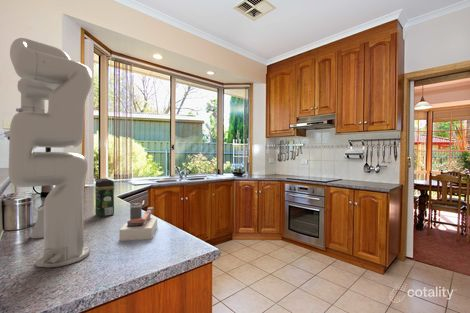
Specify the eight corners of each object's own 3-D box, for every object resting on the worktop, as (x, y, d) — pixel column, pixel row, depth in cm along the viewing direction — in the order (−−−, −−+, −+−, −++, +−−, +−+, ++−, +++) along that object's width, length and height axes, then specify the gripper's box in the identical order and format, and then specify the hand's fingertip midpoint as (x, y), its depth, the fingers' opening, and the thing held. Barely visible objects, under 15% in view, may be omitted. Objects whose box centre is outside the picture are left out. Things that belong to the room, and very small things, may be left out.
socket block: (151, 238, 84) (151, 223, 84) (119, 240, 82) (119, 225, 81) (157, 226, 97) (157, 213, 97) (129, 228, 95) (129, 214, 95)
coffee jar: (93, 214, 117) (93, 178, 117) (110, 211, 122) (110, 177, 122) (98, 218, 110) (98, 179, 109) (115, 215, 115) (116, 178, 115)
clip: (140, 211, 101) (140, 207, 101) (153, 210, 102) (153, 207, 102) (130, 223, 84) (130, 218, 84) (146, 222, 85) (146, 218, 85)
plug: (142, 237, 85) (142, 205, 85) (125, 238, 84) (125, 205, 84) (145, 231, 91) (145, 202, 91) (129, 232, 90) (129, 202, 90)
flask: (40, 240, 82) (40, 212, 82) (24, 238, 83) (24, 211, 83) (59, 233, 89) (59, 207, 89) (44, 231, 90) (44, 206, 90)
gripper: (5, 108, 87) (5, 153, 87) (60, 115, 100) (60, 153, 100) (2, 110, 91) (2, 153, 91) (55, 116, 105) (55, 153, 105)
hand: (33, 153), depth 96 cm, fingers open, 9 cm apart
